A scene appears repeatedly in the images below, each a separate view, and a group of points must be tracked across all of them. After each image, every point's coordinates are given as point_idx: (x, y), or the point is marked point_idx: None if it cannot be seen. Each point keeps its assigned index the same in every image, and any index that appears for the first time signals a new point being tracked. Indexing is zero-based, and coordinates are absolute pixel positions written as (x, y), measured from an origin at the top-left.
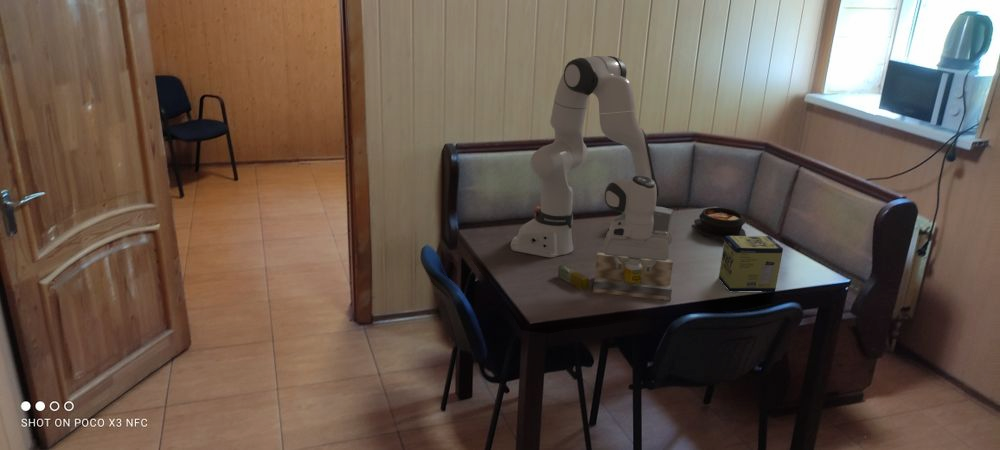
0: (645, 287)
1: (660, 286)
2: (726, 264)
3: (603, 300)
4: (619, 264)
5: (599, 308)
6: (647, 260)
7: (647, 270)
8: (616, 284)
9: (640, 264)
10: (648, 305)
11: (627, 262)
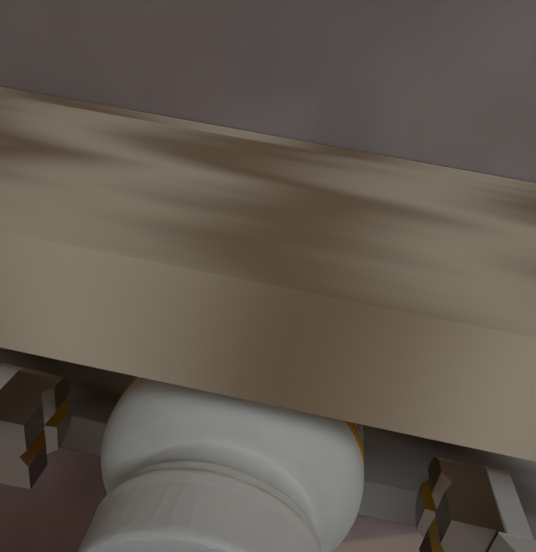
0: (363, 511)
1: (526, 518)
2: None
3: (57, 467)
4: (9, 476)
5: (45, 543)
6: (513, 447)
7: (427, 528)
8: (99, 449)
9: (325, 540)
10: (360, 534)
11: (117, 462)
